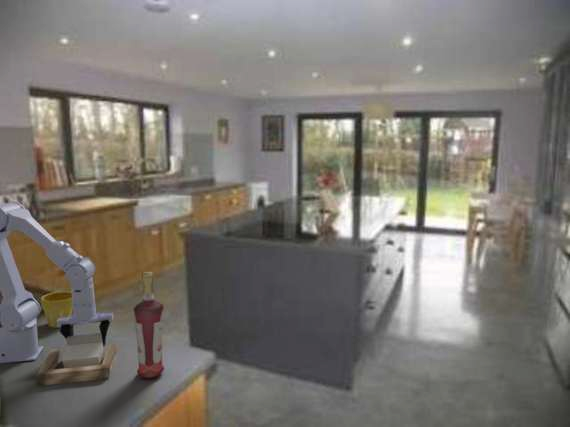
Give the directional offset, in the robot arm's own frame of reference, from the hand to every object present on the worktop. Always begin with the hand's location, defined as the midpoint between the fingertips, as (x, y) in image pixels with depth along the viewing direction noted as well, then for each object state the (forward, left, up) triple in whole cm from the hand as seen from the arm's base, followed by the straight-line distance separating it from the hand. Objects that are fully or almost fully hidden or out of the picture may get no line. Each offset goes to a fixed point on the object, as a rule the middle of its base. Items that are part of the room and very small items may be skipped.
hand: (88, 347), depth 124 cm
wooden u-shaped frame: (-1, -7, -3) cm, 8 cm away
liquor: (+18, -14, -3) cm, 23 cm away
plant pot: (-14, +26, -3) cm, 30 cm away
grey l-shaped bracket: (0, -4, -2) cm, 4 cm away
